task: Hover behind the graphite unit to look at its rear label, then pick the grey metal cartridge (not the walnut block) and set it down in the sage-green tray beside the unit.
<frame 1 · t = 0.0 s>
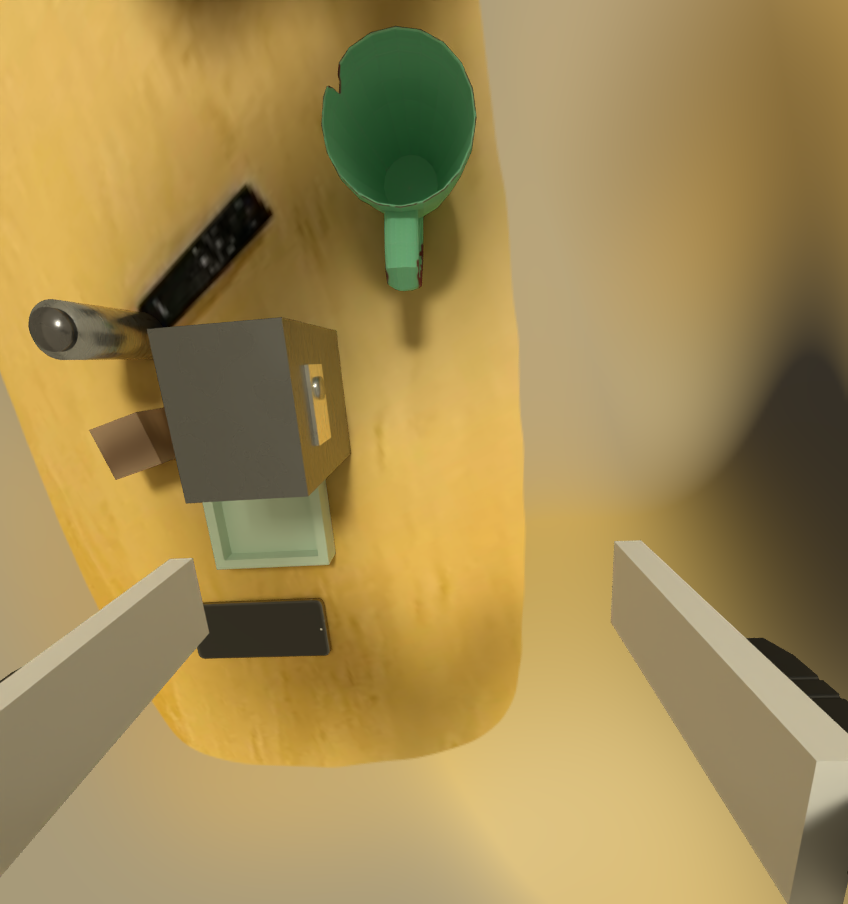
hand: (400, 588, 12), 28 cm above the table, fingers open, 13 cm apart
smartphone: (263, 624, 47), on the table
tray: (273, 504, 42), on the table
mug: (412, 218, 35), on the table
walnut block: (163, 436, 41), on the table
unit: (299, 397, 39), on the table
cartridge: (144, 336, 39), on the table
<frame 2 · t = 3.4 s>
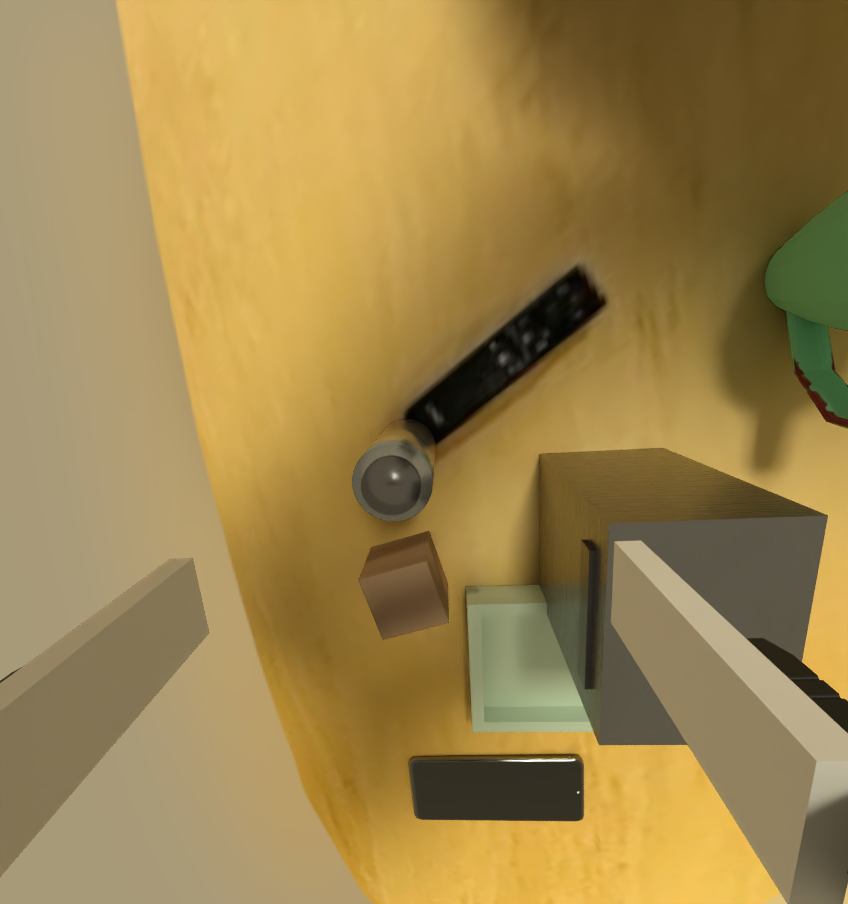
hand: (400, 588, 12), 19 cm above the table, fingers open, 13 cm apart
smartphone: (494, 779, 38), on the table
tray: (539, 647, 34), on the table
mug: (792, 312, 27), on the table
walnut block: (409, 565, 33), on the table
unit: (597, 525, 31), on the table
cartridge: (407, 447, 30), on the table
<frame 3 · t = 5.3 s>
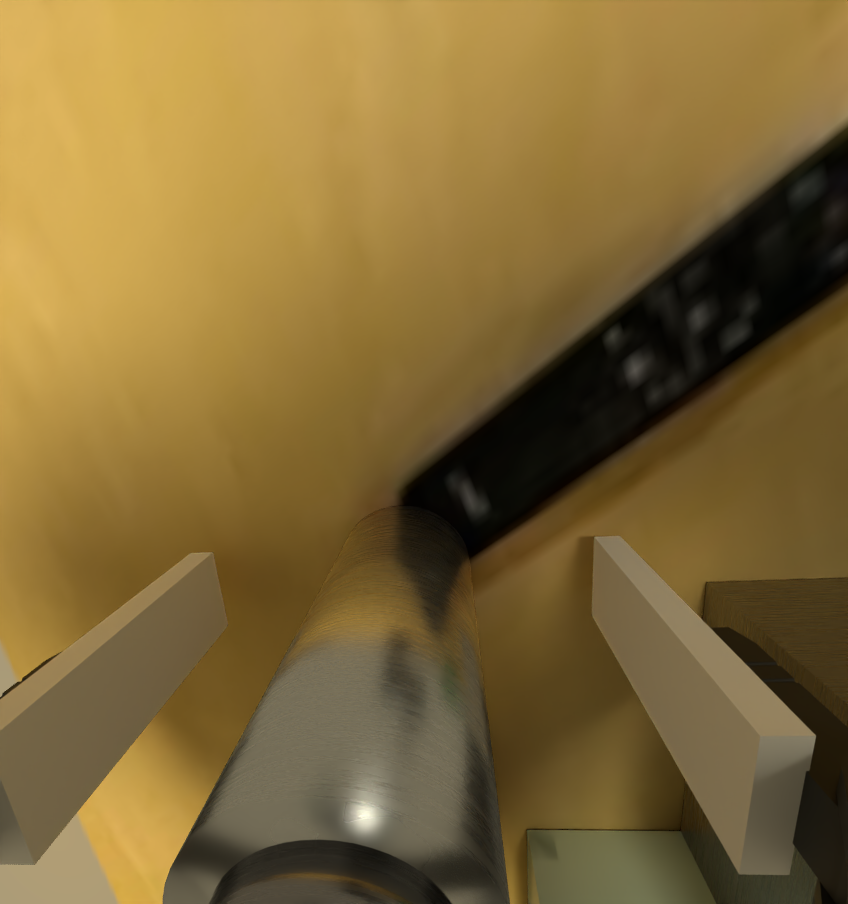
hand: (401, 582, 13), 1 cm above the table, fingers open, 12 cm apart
unit: (821, 727, 14), on the table
cartridge: (405, 565, 14), on the table
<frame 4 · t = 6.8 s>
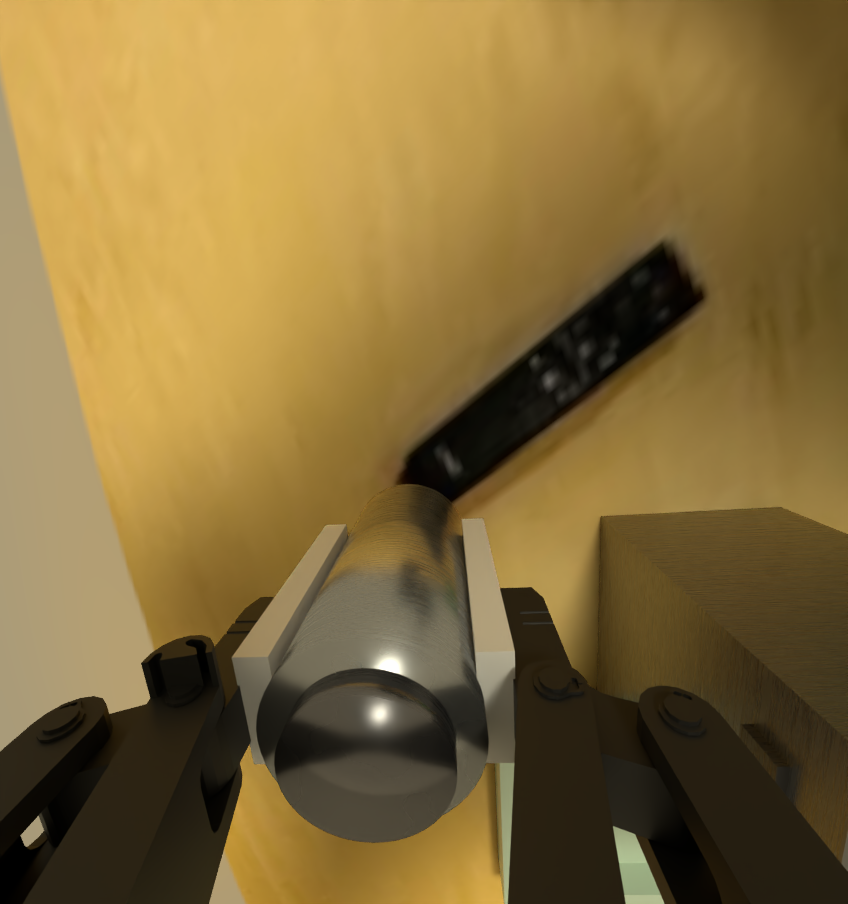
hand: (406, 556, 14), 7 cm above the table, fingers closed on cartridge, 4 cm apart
tray: (594, 780, 24), on the table
unit: (682, 615, 22), on the table
cartridge: (410, 535, 16), point 5 cm above the table, touching gripper
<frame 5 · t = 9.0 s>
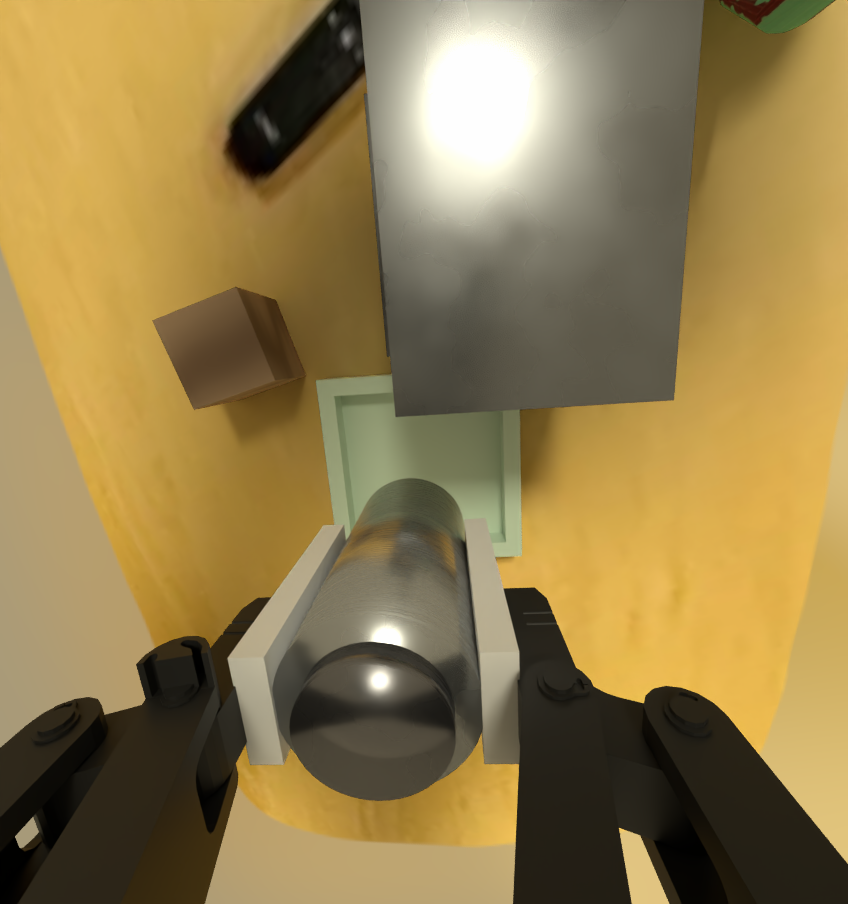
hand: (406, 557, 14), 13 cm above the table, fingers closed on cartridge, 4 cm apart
tray: (424, 461, 27), on the table
walnut block: (257, 351, 26), on the table
unit: (485, 283, 24), on the table
cartridge: (412, 527, 17), point 11 cm above the table, touching gripper
when the fingers open (2 cm above the table, at t = 11.1 s): cartridge stays where it is, resting on tray.
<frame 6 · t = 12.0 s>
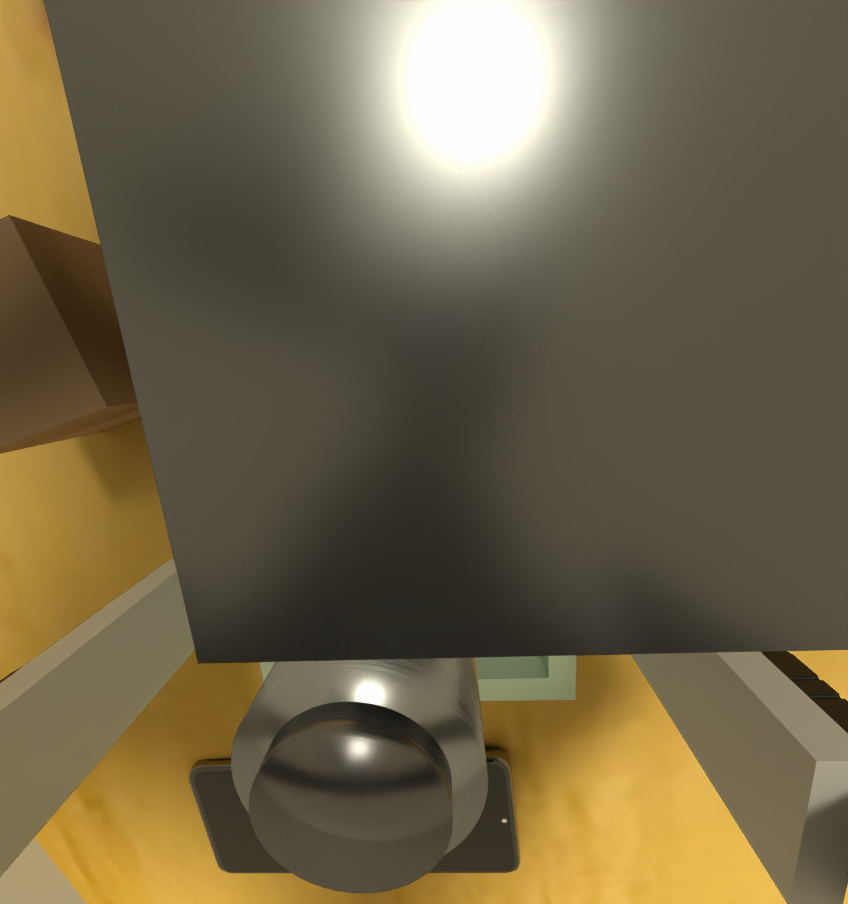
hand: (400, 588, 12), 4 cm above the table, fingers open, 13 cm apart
smartphone: (358, 797, 21), on the table
tray: (411, 531, 16), on the table
walnut block: (127, 351, 15), on the table
unit: (516, 230, 14), on the table
cartridge: (406, 541, 16), point 1 cm above the table, touching tray
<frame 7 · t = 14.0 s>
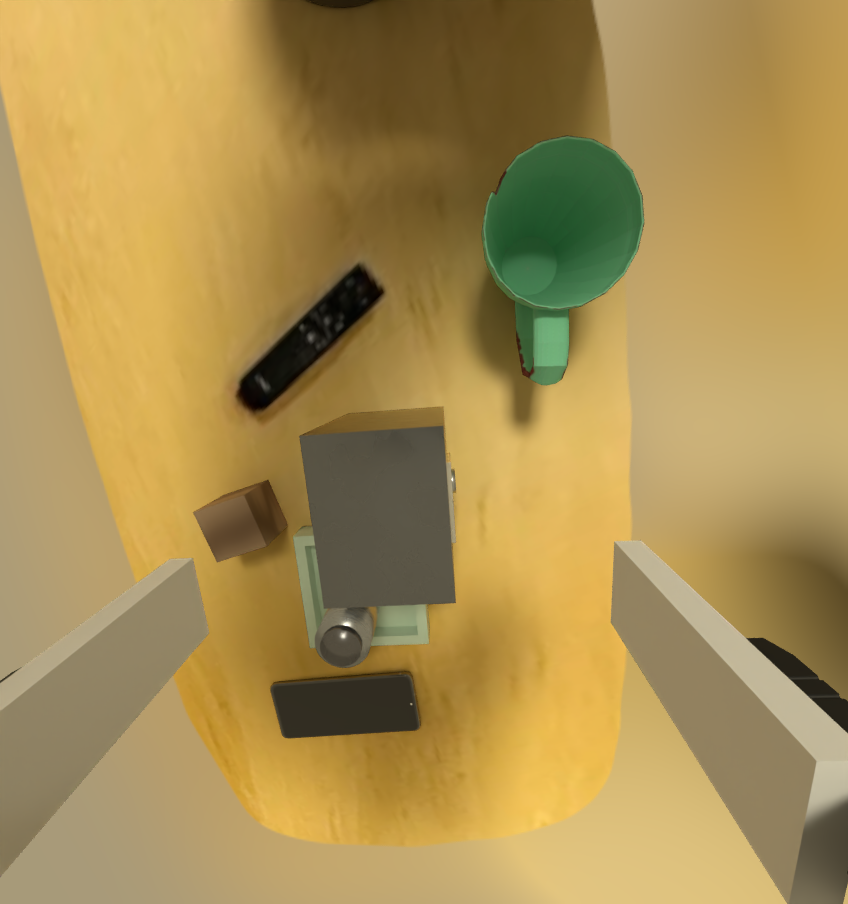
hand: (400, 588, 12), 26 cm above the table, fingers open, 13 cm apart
smartphone: (347, 699, 45), on the table
tray: (367, 578, 41), on the table
mug: (527, 297, 35), on the table
walnut block: (256, 509, 40), on the table
unit: (400, 471, 38), on the table
cartridge: (364, 582, 40), point 1 cm above the table, touching tray
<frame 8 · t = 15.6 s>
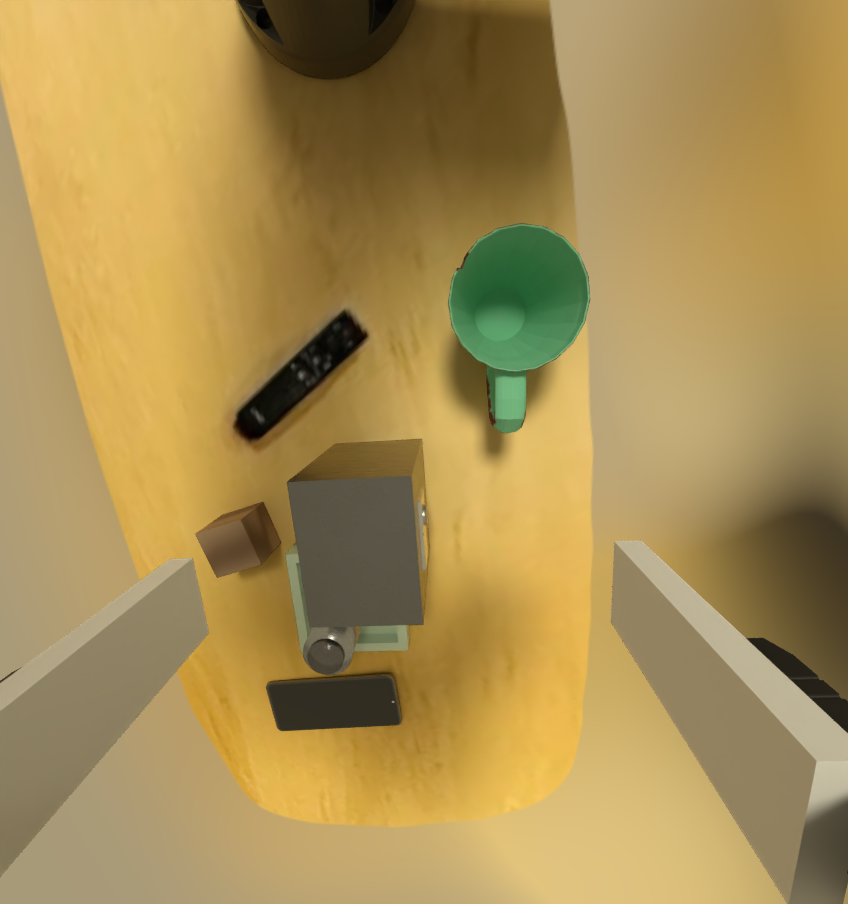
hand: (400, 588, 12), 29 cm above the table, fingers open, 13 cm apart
smartphone: (336, 697, 49), on the table
tray: (353, 590, 45), on the table
mug: (498, 342, 38), on the table
walnut block: (252, 528, 44), on the table
unit: (383, 496, 42), on the table
cartridge: (350, 595, 44), point 1 cm above the table, touching tray
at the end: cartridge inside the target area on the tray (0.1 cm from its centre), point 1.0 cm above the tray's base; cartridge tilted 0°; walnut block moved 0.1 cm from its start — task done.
